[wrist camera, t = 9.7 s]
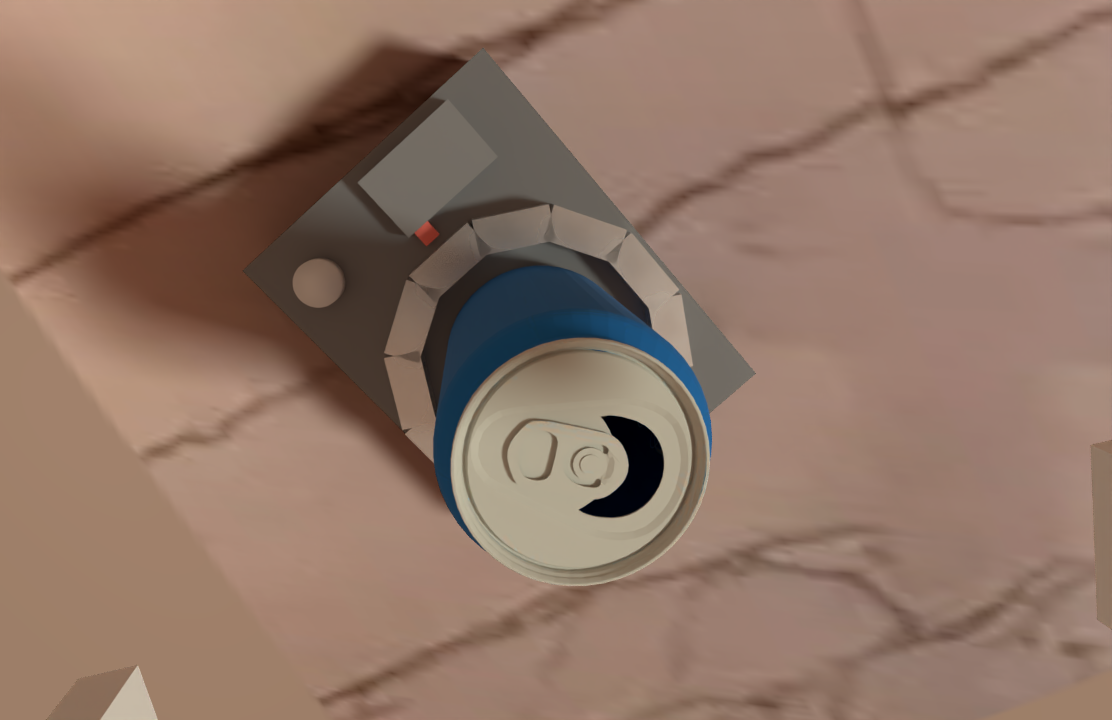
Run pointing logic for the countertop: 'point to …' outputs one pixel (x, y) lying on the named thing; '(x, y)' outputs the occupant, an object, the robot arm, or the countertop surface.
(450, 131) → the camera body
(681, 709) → the countertop surface
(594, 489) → the beverage can
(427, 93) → the countertop surface
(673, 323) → the mount ring
